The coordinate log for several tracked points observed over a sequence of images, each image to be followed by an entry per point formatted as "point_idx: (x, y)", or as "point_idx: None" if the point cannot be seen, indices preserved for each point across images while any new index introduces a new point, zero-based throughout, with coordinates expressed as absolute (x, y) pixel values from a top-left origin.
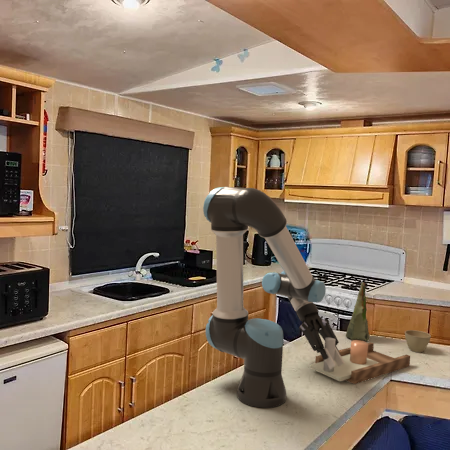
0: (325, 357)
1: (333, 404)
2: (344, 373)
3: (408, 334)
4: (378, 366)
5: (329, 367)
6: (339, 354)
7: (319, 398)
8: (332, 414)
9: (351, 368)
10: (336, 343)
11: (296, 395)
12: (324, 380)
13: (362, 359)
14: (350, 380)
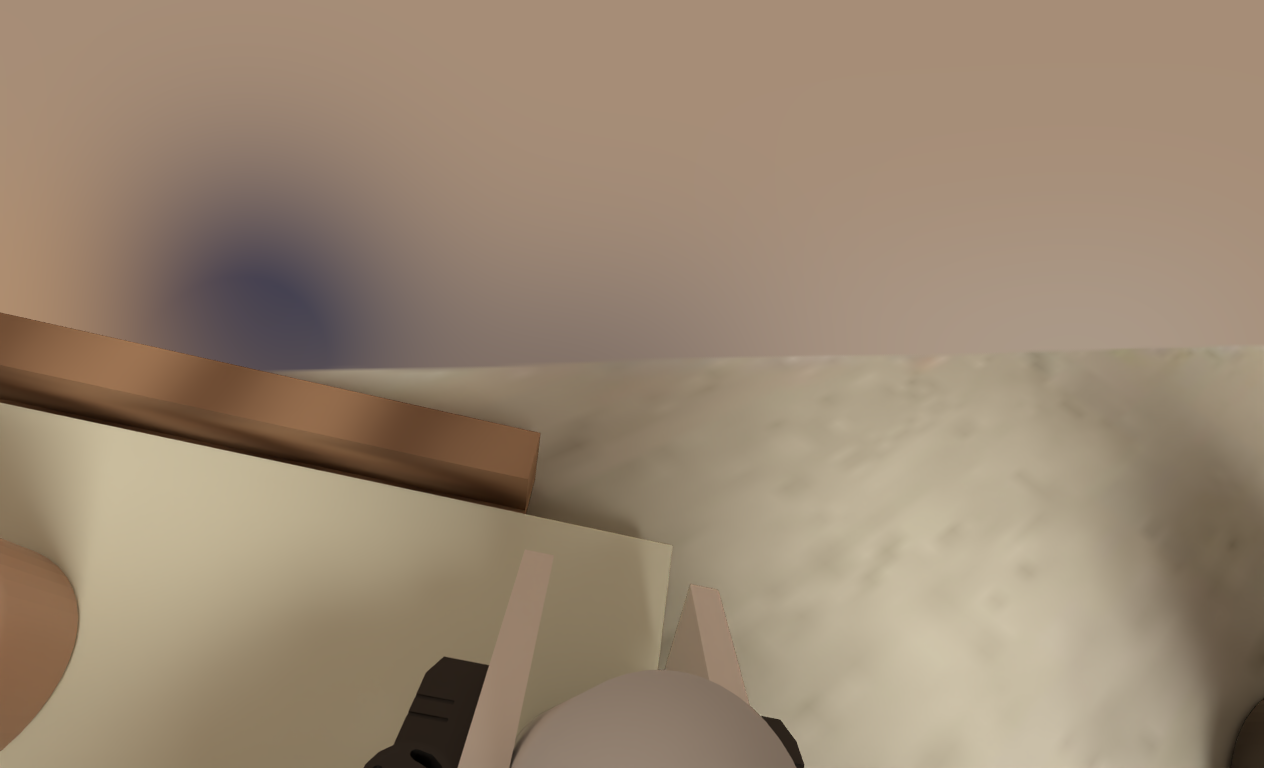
0: (786, 744)
1: (952, 432)
2: None
3: None
4: (134, 347)
5: None
6: (508, 633)
7: (981, 546)
8: (1039, 381)
9: (309, 592)
10: (410, 766)
11: (1121, 713)
12: None
13: (7, 545)
14: None
